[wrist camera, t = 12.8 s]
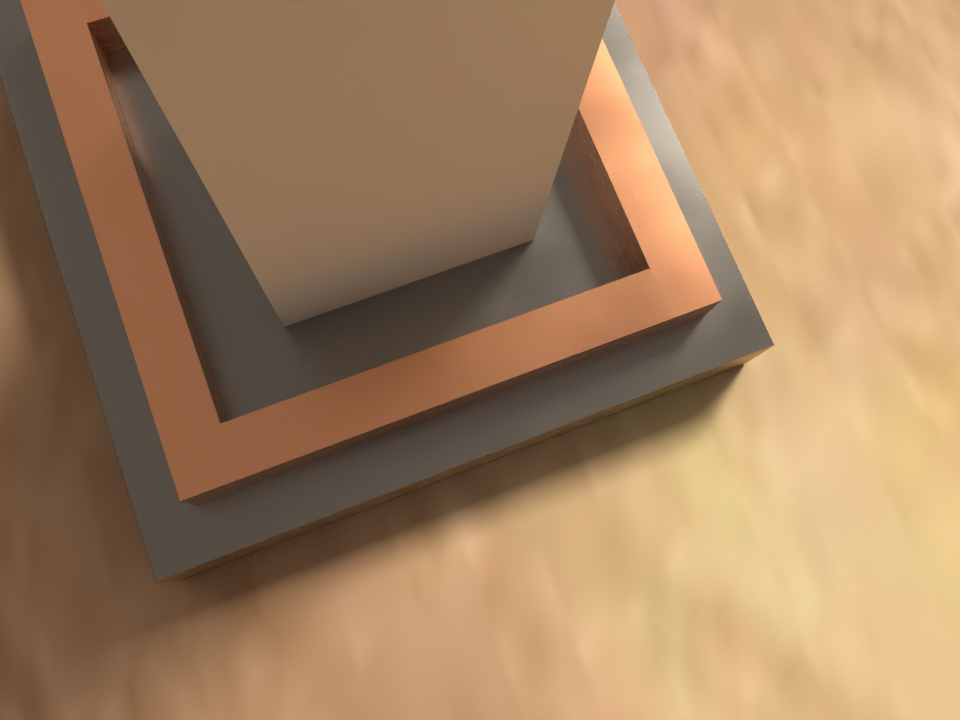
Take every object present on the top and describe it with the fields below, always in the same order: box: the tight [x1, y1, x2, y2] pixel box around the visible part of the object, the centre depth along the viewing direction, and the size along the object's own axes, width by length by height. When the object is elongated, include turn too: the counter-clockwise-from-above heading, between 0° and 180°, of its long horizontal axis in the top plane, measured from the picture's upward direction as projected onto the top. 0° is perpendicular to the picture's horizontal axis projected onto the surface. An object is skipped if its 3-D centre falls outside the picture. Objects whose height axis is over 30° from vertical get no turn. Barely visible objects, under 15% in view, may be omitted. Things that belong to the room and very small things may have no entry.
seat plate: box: [0, 0, 774, 582], centre depth 17 cm, size 12×12×4 cm
